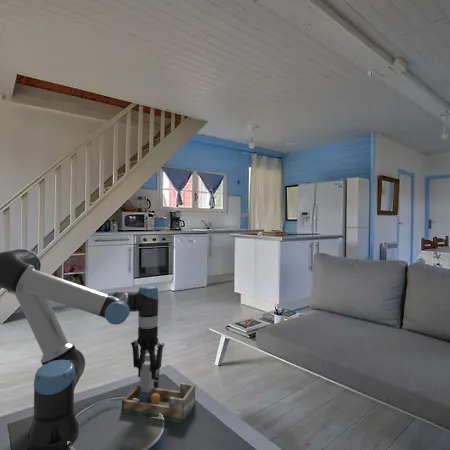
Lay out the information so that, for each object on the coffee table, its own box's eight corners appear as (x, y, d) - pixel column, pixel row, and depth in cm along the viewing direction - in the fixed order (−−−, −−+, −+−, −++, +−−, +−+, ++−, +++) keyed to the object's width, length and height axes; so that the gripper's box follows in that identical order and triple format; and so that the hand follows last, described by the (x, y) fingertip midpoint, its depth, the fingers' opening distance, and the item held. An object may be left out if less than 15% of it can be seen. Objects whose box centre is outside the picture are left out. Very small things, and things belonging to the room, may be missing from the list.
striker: (138, 406, 121) (139, 366, 121) (147, 396, 128) (148, 359, 128) (145, 407, 120) (146, 367, 121) (154, 398, 127) (154, 359, 127)
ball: (147, 405, 122) (148, 395, 122) (151, 399, 126) (153, 389, 126) (156, 408, 121) (158, 398, 121) (161, 402, 125) (162, 392, 125)
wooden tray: (121, 413, 119) (121, 391, 120) (138, 395, 132) (138, 376, 132) (183, 423, 114) (183, 401, 114) (195, 404, 126) (195, 384, 126)
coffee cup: (154, 379, 147) (155, 346, 147) (165, 386, 140) (166, 352, 140) (135, 385, 140) (136, 351, 141) (146, 394, 133) (146, 358, 134)
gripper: (171, 324, 126) (169, 384, 126) (134, 321, 130) (133, 379, 130) (163, 330, 119) (162, 393, 119) (124, 326, 123) (123, 388, 122)
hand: (146, 385), depth 124 cm, fingers closed on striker, 3 cm apart
